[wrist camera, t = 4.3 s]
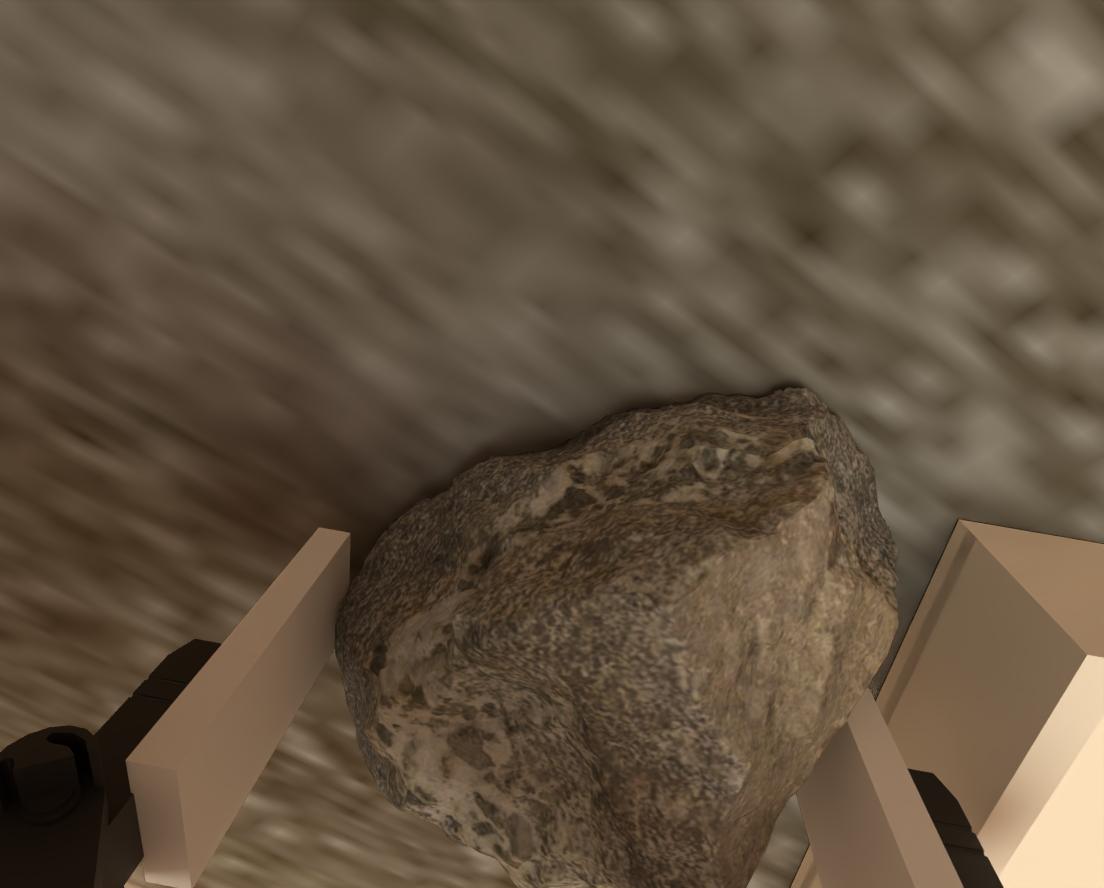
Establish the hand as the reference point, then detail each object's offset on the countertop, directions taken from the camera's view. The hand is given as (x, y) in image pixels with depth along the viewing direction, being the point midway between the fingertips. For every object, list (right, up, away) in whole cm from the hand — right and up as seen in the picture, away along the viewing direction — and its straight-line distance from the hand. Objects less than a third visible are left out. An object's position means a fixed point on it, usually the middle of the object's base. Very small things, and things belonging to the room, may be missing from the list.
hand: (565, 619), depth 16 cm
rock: (0, +1, +1) cm, 1 cm away
